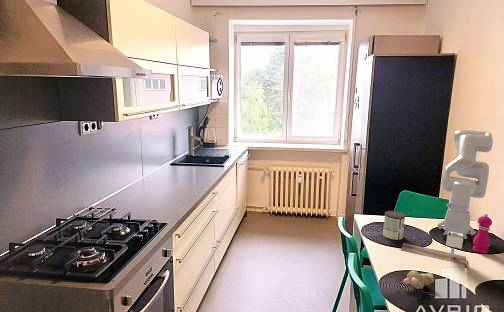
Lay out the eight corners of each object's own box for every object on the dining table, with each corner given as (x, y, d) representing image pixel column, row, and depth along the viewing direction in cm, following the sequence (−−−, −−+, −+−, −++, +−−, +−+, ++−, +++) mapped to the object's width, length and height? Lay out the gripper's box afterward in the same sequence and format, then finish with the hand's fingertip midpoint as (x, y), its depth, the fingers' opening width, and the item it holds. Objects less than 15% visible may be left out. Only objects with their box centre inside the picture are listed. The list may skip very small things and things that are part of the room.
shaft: (450, 256, 167) (451, 248, 166) (453, 256, 166) (454, 248, 165) (450, 258, 164) (451, 250, 163) (453, 259, 163) (454, 251, 163)
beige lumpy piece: (436, 273, 141) (417, 271, 135) (435, 292, 139) (416, 290, 134) (418, 270, 148) (399, 268, 142) (417, 287, 146) (398, 286, 141)
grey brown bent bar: (402, 245, 180) (403, 242, 180) (465, 259, 167) (465, 256, 167) (400, 253, 171) (400, 250, 171) (466, 268, 158) (466, 265, 158)
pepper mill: (491, 255, 172) (497, 216, 169) (475, 253, 174) (481, 215, 170) (484, 248, 179) (490, 212, 176) (469, 247, 181) (475, 210, 177)
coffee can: (382, 233, 195) (384, 209, 193) (401, 236, 192) (404, 212, 190) (382, 240, 186) (385, 215, 183) (403, 243, 183) (406, 218, 180)
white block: (461, 248, 160) (463, 238, 159) (445, 245, 163) (447, 235, 162) (461, 243, 165) (462, 233, 164) (445, 240, 168) (447, 230, 167)
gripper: (437, 206, 161) (432, 242, 165) (481, 213, 153) (475, 251, 157) (438, 202, 168) (433, 237, 171) (480, 209, 160) (474, 245, 163)
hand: (453, 243), depth 164 cm, fingers closed on white block, 6 cm apart
